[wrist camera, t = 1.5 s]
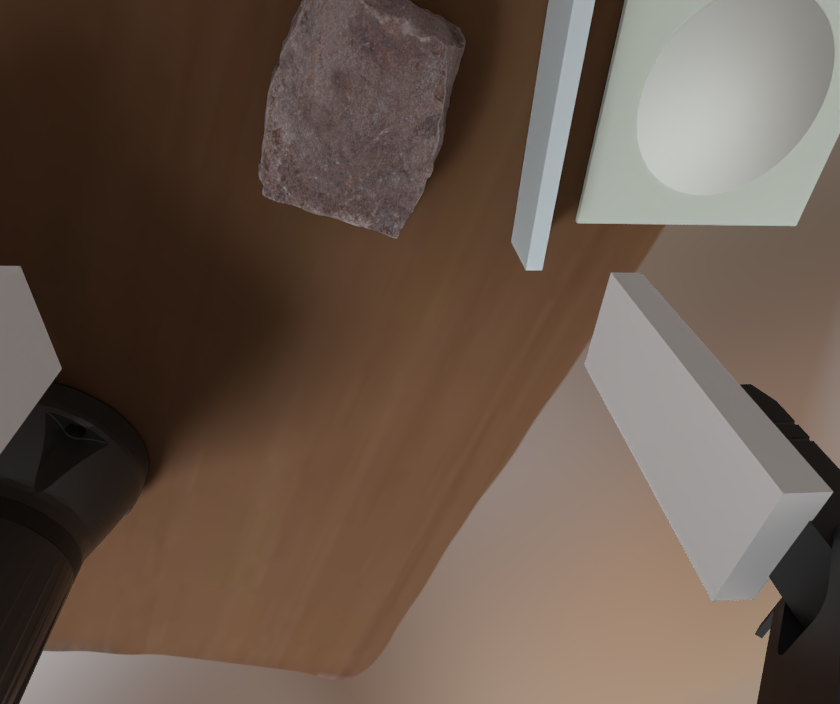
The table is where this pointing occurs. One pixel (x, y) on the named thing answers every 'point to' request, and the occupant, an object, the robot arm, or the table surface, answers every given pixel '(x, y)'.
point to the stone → (359, 109)
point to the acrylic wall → (550, 125)
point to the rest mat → (715, 113)
